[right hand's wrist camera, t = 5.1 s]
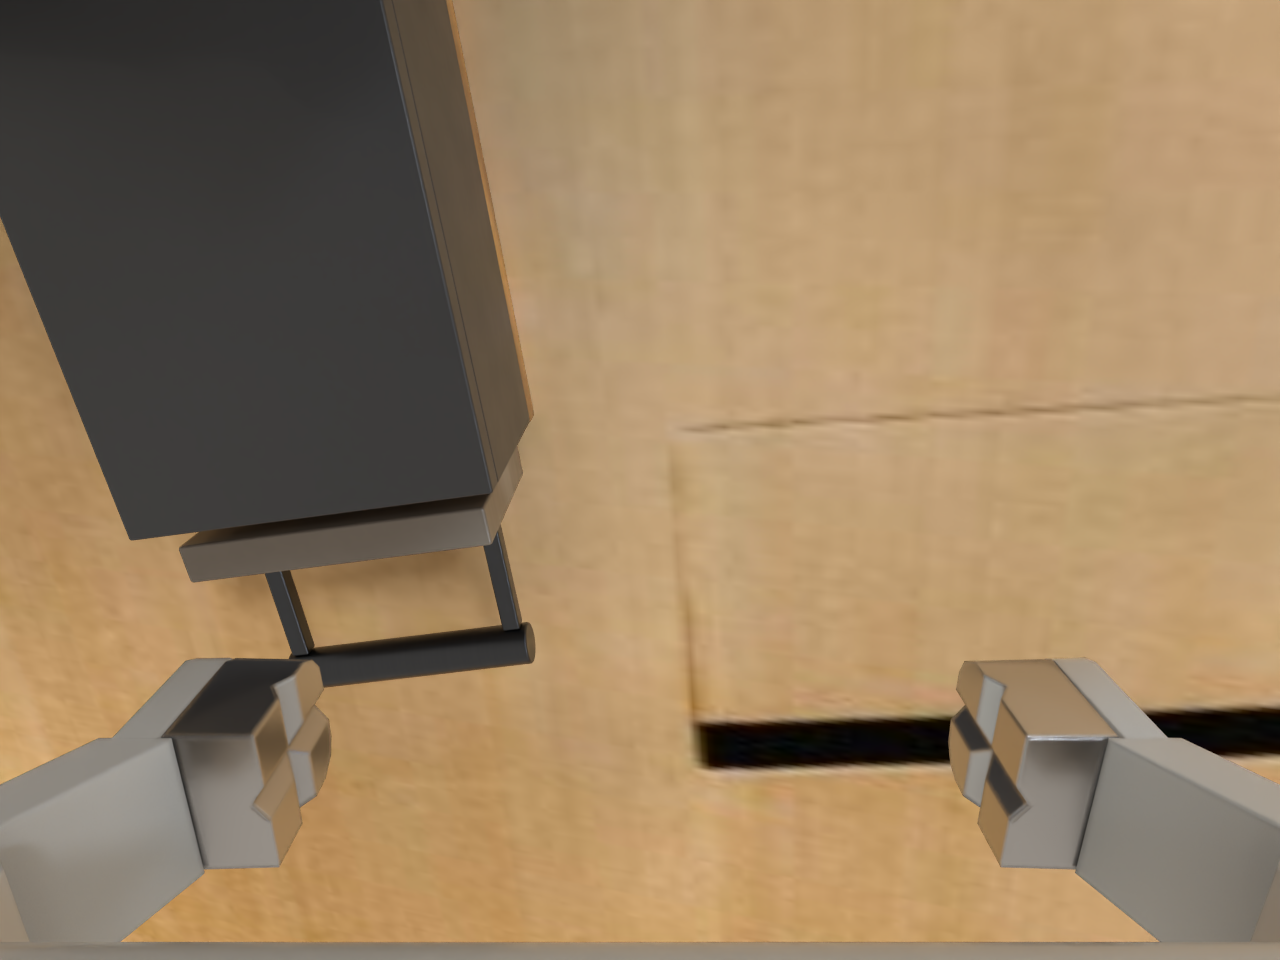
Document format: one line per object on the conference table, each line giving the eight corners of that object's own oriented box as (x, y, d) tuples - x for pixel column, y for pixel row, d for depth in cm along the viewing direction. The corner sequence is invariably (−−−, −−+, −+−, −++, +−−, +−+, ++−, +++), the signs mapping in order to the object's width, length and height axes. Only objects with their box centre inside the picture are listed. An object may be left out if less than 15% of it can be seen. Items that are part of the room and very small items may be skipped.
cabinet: (534, 414, 29) (493, 494, 22) (258, 452, 30) (129, 542, 22) (402, -250, 22) (279, -460, 15) (51, -182, 23) (-230, -351, 16)
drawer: (553, 617, 31) (531, 714, 25) (323, 644, 32) (252, 746, 26) (398, -129, 23) (314, -231, 17) (91, -72, 23) (-90, -153, 18)
